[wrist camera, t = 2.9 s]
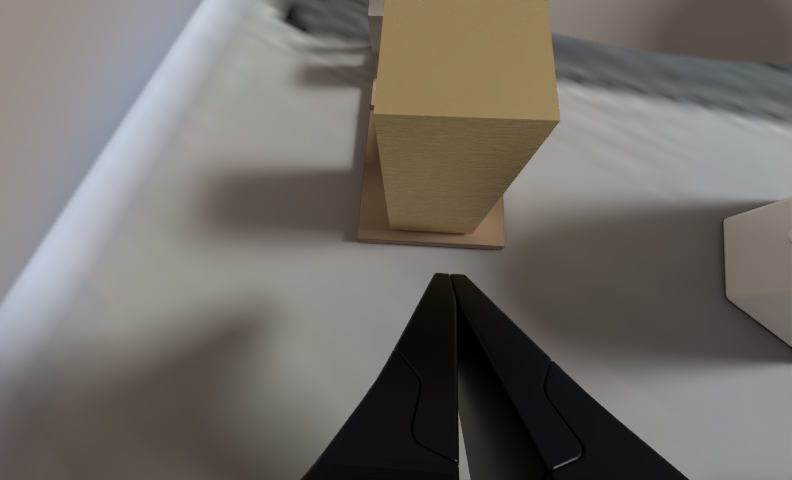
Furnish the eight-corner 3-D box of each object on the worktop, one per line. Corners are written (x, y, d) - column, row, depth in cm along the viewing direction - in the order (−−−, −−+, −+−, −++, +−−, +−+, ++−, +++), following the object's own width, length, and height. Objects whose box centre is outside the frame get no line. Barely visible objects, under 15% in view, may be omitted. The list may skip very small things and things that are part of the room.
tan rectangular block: (472, 233, 15) (560, 120, 7) (390, 229, 16) (373, 113, 7) (471, 89, 18) (533, -127, 9) (400, 86, 18) (397, -128, 10)
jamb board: (500, 249, 16) (538, 220, 12) (359, 241, 17) (341, 211, 12) (493, 48, 20) (519, -33, 16) (379, 45, 21) (372, -35, 16)
